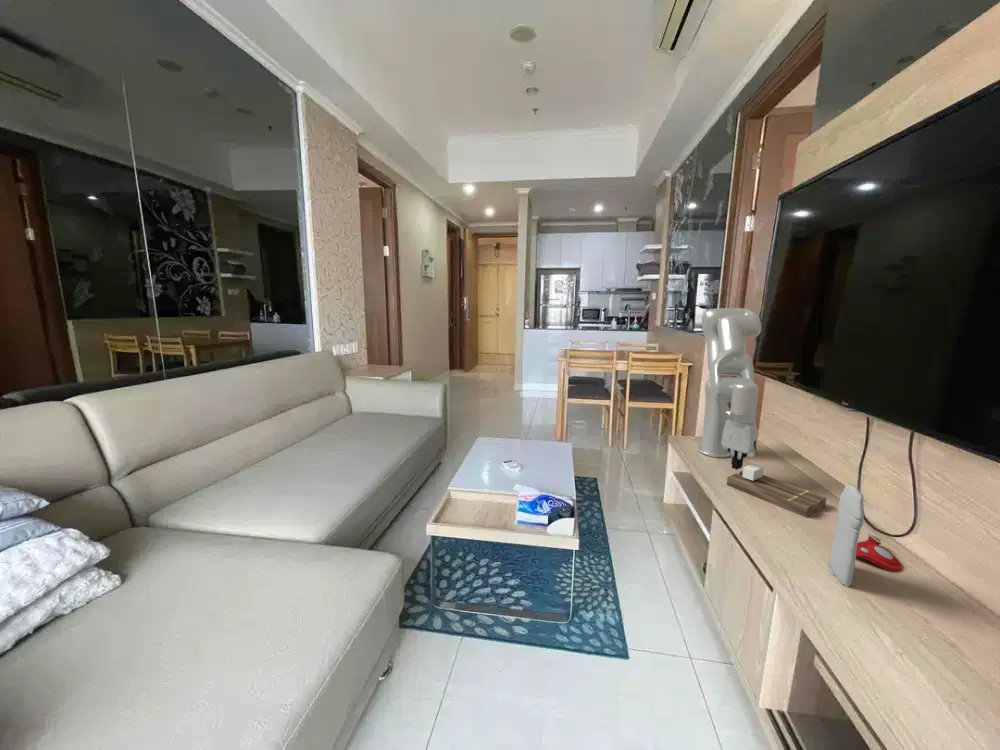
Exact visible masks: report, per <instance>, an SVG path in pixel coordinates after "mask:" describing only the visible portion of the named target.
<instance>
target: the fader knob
mask: <svg viewBox="0 0 1000 750" xmlns="http://www.w3.org/2000/svg"><path fill="white" fill-rule="evenodd" d="M742 467H743V468H742V471H743V475H742V477H744V478H747V479H749V480H752V481H755V480H756V479H759V478H761V477H763V475H764V470H765V467H764V466H761V465H759V464H756V463H751V464H748V465H746V466H742Z"/></svg>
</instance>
